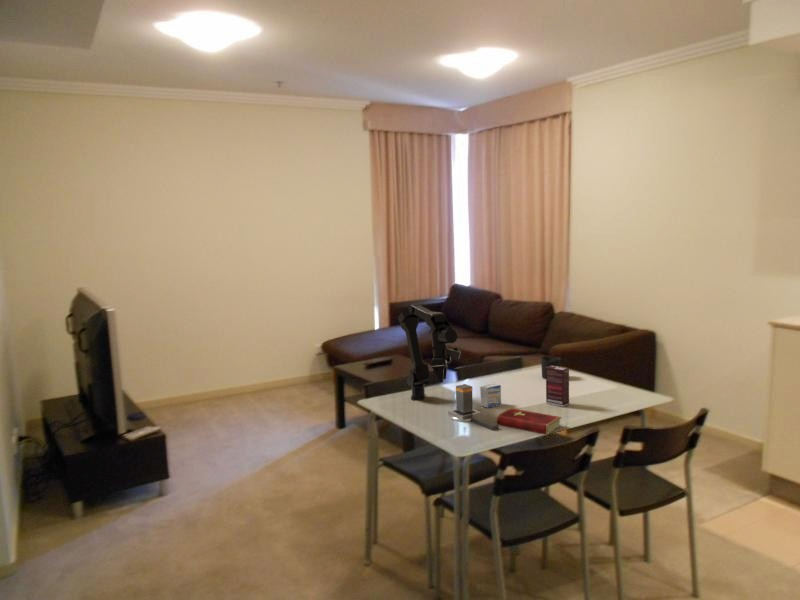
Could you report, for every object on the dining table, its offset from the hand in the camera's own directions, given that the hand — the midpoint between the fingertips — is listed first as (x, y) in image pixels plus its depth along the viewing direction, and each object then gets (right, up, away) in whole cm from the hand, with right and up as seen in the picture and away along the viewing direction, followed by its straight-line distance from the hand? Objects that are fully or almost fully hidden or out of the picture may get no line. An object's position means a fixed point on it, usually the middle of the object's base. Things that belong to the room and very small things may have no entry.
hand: (443, 380), depth 251 cm
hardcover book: (+31, -15, -20) cm, 40 cm away
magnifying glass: (+11, -14, -14) cm, 23 cm away
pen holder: (+57, -5, +48) cm, 75 cm away
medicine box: (+21, -12, +6) cm, 25 cm away
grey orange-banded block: (+8, -13, -8) cm, 17 cm away
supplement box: (+49, -11, +5) cm, 50 cm away
